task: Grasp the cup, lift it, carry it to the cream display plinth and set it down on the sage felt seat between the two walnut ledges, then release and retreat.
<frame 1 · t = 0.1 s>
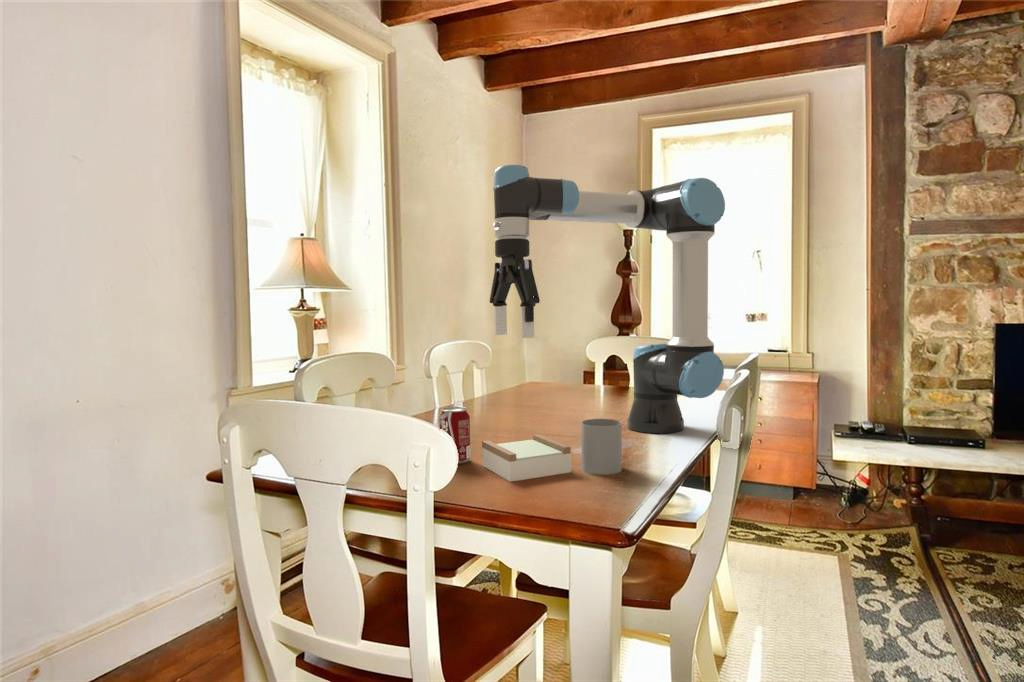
hand: (513, 336, 141), 28 cm above the table, fingers open, 13 cm apart
soda can: (455, 462, 144), on the table
cup: (601, 470, 136), on the table
display plinth: (525, 468, 137), on the table
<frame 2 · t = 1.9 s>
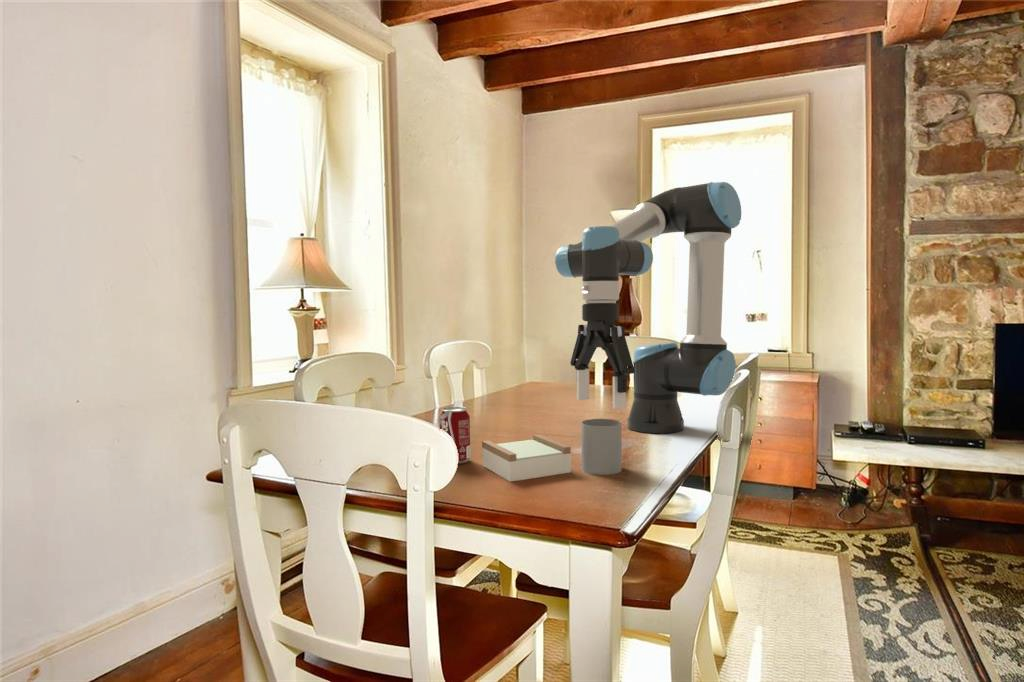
hand: (600, 404, 134), 14 cm above the table, fingers open, 13 cm apart
nothing on the table moved.
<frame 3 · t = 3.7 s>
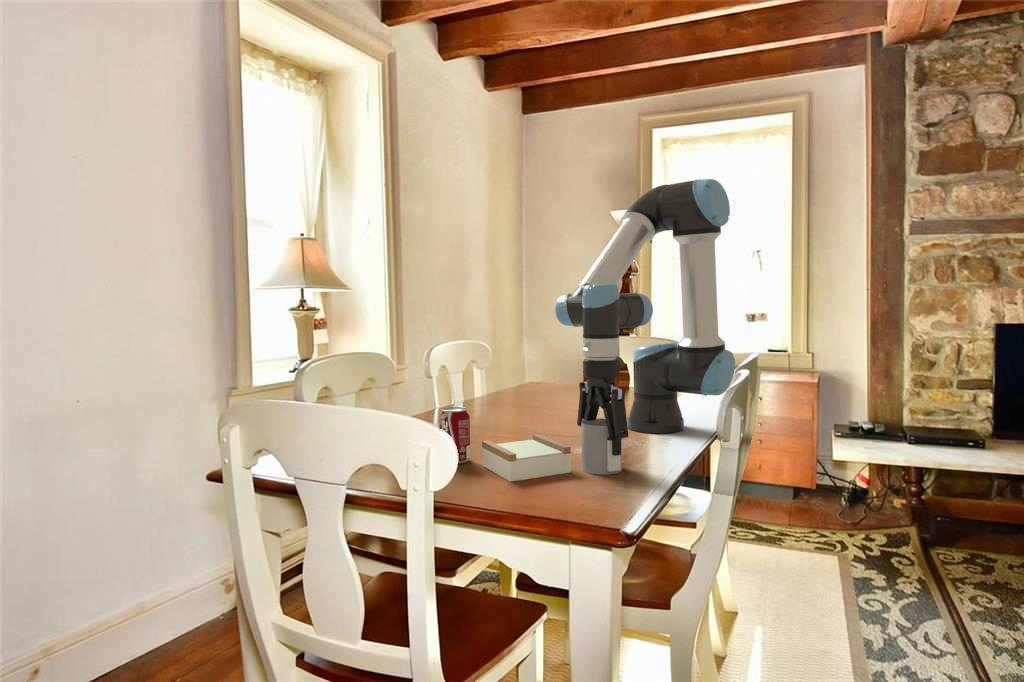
hand: (601, 465, 136), 1 cm above the table, fingers closed on cup, 8 cm apart
cup: (601, 470, 136), on the table, touching gripper
everything else where it was.
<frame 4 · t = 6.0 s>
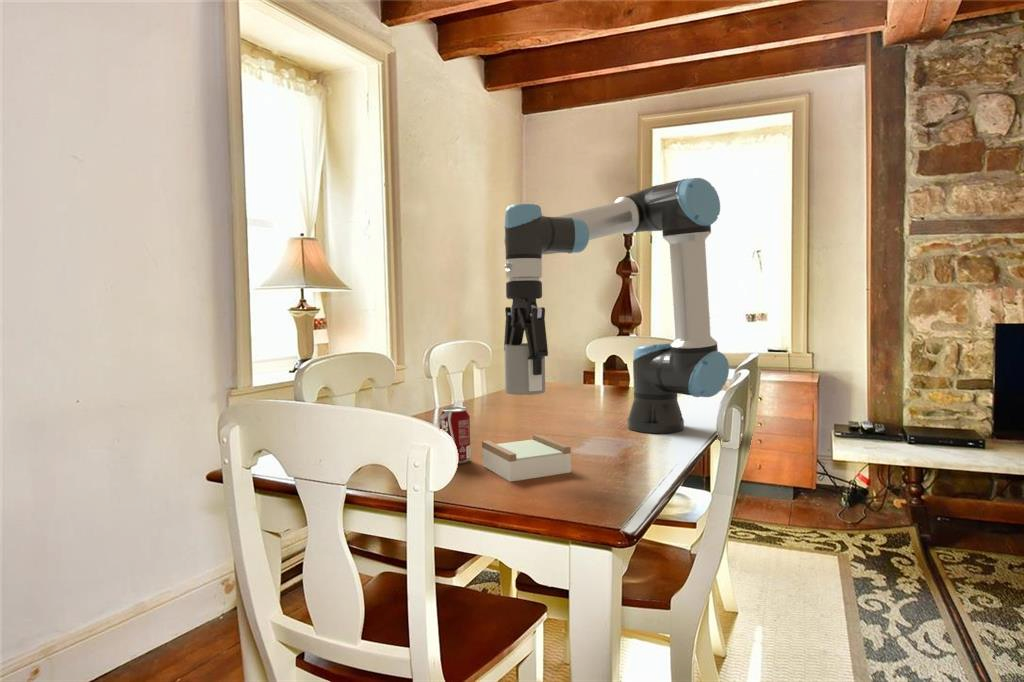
hand: (525, 387, 136), 17 cm above the table, fingers closed on cup, 8 cm apart
cup: (525, 392, 136), point 16 cm above the table, touching gripper
everything else where it was.
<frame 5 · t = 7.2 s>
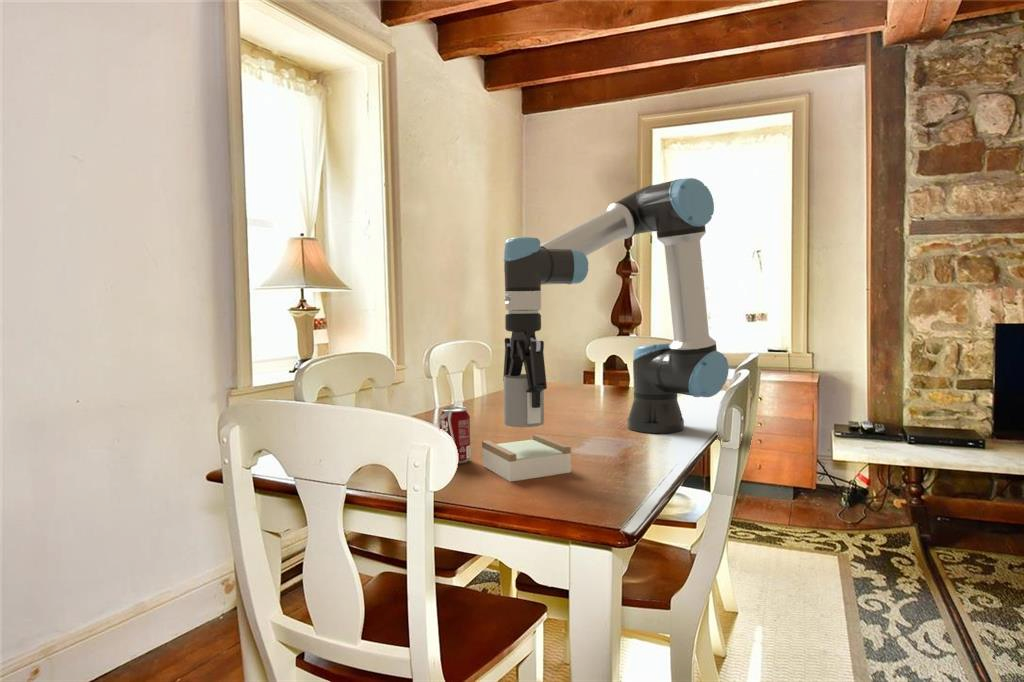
hand: (524, 419, 136), 11 cm above the table, fingers closed on cup, 8 cm apart
cup: (524, 424, 136), point 10 cm above the table, touching gripper
everything else where it was.
when the fingers open (7 cm above the table, at t = 8.3 s): cup drops 2 cm, resting on display plinth.
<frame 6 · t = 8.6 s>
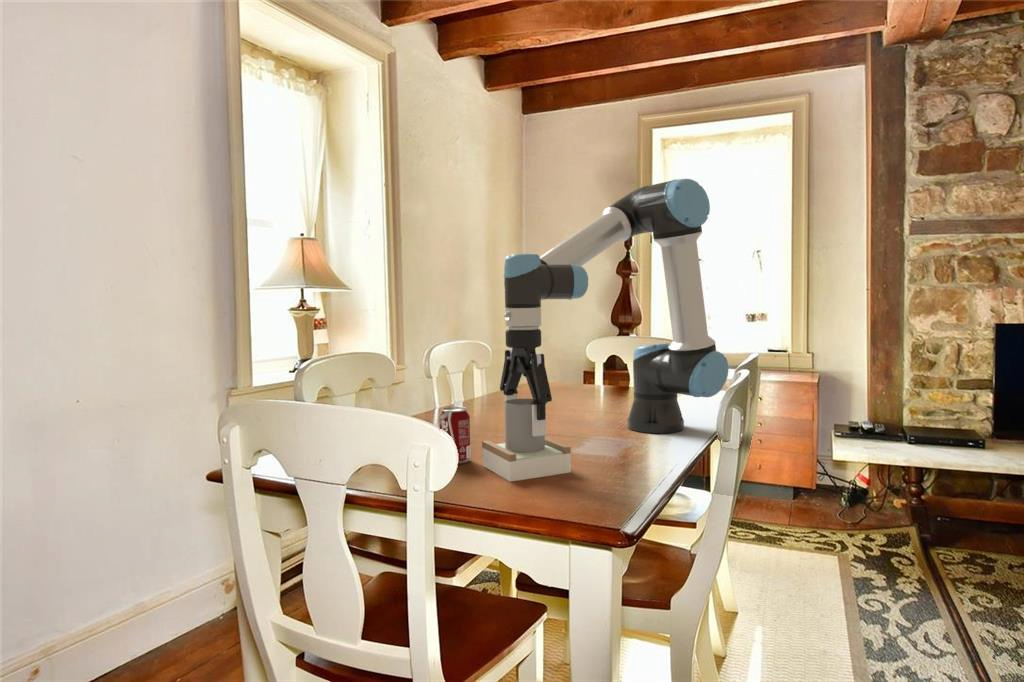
hand: (524, 429, 136), 8 cm above the table, fingers open, 12 cm apart
cup: (525, 449, 137), point 4 cm above the table, touching display plinth
everything else where it was.
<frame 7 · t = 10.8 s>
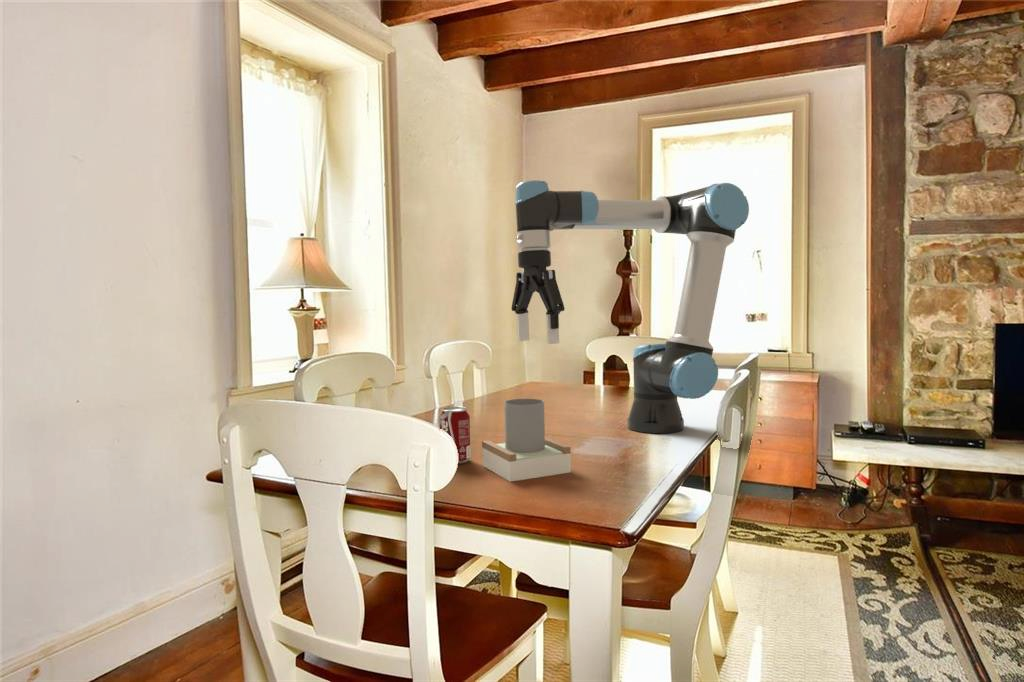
hand: (537, 342, 149), 26 cm above the table, fingers open, 13 cm apart
nothing on the table moved.
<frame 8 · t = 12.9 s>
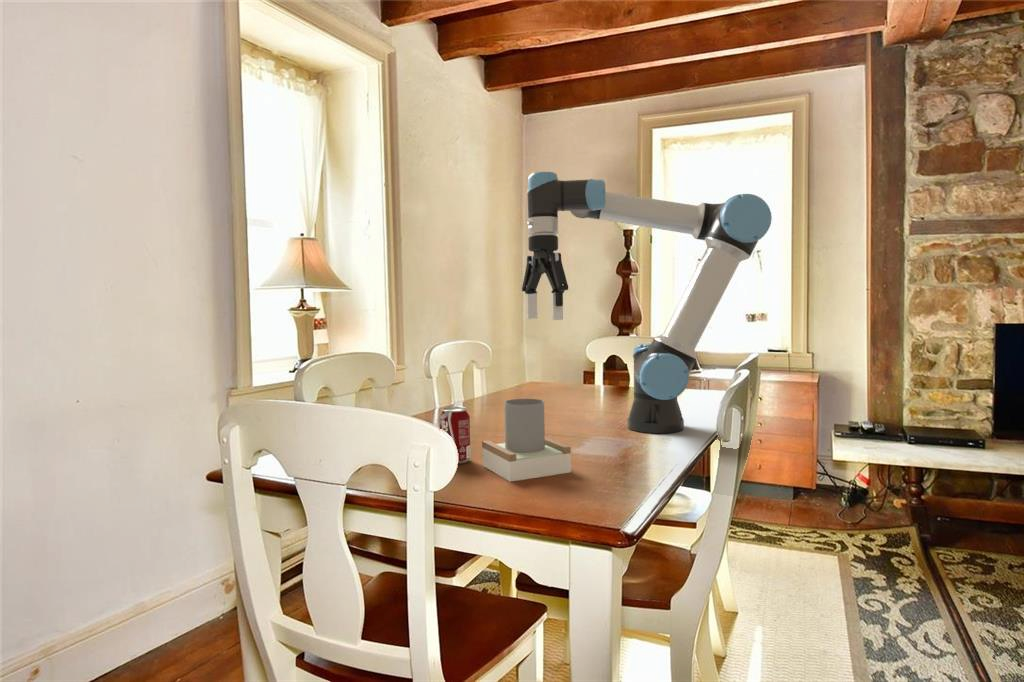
hand: (544, 319, 164), 31 cm above the table, fingers open, 13 cm apart
nothing on the table moved.
at the end: cup inside the target area on the display plinth (0.2 cm from its centre), point 4.2 cm above the display plinth's base; cup tilted 0°; the gripper is holding nothing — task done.
